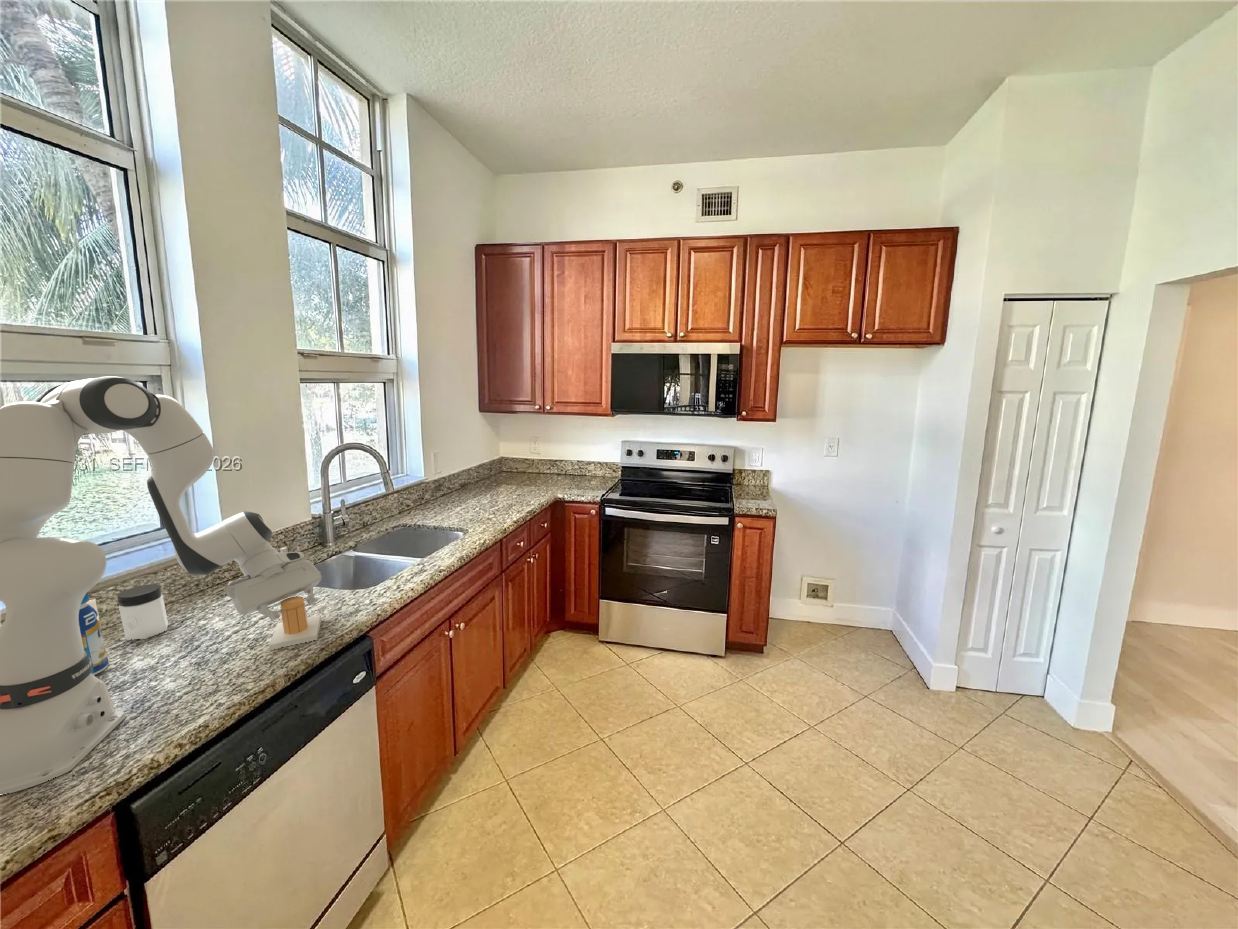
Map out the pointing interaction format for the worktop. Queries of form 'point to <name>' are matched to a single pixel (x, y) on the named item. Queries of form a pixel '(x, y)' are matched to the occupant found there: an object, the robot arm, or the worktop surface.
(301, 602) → the fluted domed cylinder
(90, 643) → the beverage bottle
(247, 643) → the worktop surface
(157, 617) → the jar
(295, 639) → the board
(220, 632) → the worktop surface
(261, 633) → the worktop surface
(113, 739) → the worktop surface
